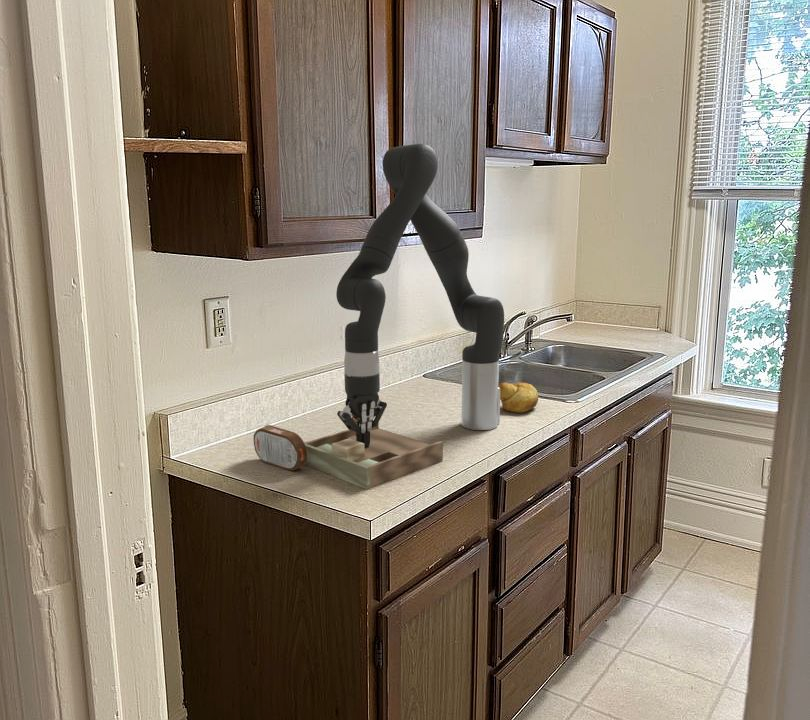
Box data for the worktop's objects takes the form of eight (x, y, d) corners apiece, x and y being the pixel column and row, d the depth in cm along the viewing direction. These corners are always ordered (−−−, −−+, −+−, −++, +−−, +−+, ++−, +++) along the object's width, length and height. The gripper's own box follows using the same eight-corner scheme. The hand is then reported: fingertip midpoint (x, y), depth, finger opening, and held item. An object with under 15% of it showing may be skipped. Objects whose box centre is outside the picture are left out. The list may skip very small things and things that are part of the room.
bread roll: (517, 400, 217) (518, 373, 215) (548, 406, 211) (549, 378, 209) (493, 410, 208) (493, 382, 206) (523, 417, 201) (524, 388, 200)
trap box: (376, 439, 184) (376, 421, 183) (442, 461, 169) (442, 441, 168) (301, 463, 168) (300, 443, 167) (367, 489, 153) (366, 468, 152)
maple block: (349, 451, 166) (349, 438, 166) (364, 456, 163) (364, 443, 162) (331, 456, 163) (331, 443, 162) (347, 462, 160) (346, 449, 159)
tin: (309, 471, 163) (307, 434, 161) (298, 475, 161) (297, 437, 159) (262, 456, 172) (260, 421, 171) (251, 460, 170) (250, 424, 168)
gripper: (372, 363, 169) (373, 437, 173) (326, 373, 160) (328, 451, 164) (396, 368, 164) (396, 444, 168) (350, 379, 155) (351, 459, 159)
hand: (363, 447), depth 166 cm, fingers closed
